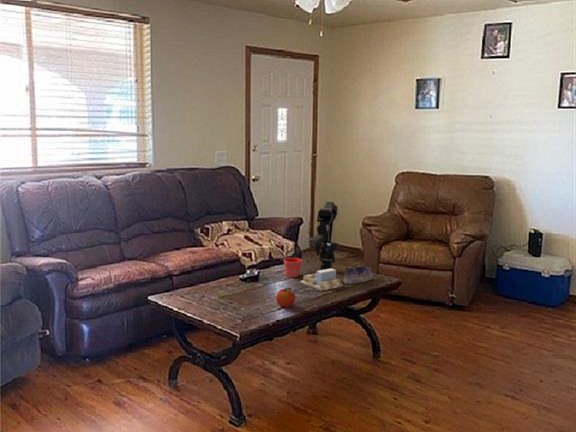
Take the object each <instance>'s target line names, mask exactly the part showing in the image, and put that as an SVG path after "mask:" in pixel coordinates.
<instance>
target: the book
mask: <svg viewBox="0 0 576 432" xmlns="http://www.w3.org/2000/svg"><path fill="white" fill-rule="evenodd" d="M316 273H317V274H316ZM316 273H315V274H316V285H318V286H320V282H324V281H329V280H334V279H337V270H336V269H334V268H333V267H332V268H331V269H326V270H317V271H316Z"/></svg>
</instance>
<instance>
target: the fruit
mask: <svg viewBox="0 0 576 432" xmlns="http://www.w3.org/2000/svg"><path fill="white" fill-rule="evenodd" d="M275 300H276V303H277V305H279V306H280V307H281V308H290V307H292V306H293V305H294V304H295V301H296V294H295V292H294V290H292V288H291V287H284V288H283V289H279V290H278V292H277V294H276V296H275Z"/></svg>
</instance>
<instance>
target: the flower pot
mask: <svg viewBox="0 0 576 432" xmlns="http://www.w3.org/2000/svg"><path fill="white" fill-rule="evenodd" d="M302 262H303V260H302V258H298V257H286V258H284V259H283V264H284V265H283V266H284V272H285V276H286V277H288V278H298V277H299V275H300V273H301V267H302V264H303V263H302Z"/></svg>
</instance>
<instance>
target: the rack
mask: <svg viewBox="0 0 576 432" xmlns="http://www.w3.org/2000/svg"><path fill="white" fill-rule="evenodd" d="M316 274H317V272H315V273H312V274H305V275H303V279H302V280H300V283H301V284H304V285H306V286H308V287H312V288H313V289H315V290H318V291H320V292H322V291H326V290H331V289H336V288H342V287H344V283H343V284H342V283H341V282H342V281H341V280H342V279H341V278H336V279H334V280H329V281H324V282H320V286H318V285H316Z"/></svg>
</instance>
